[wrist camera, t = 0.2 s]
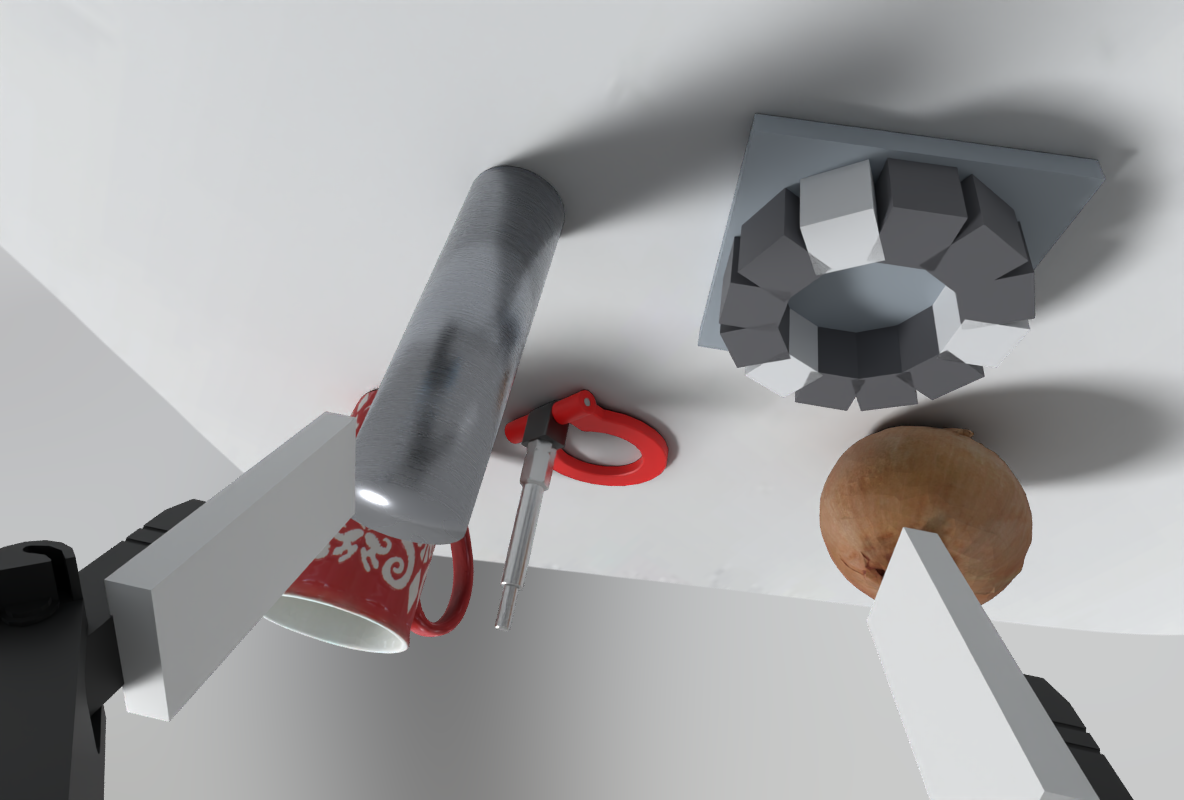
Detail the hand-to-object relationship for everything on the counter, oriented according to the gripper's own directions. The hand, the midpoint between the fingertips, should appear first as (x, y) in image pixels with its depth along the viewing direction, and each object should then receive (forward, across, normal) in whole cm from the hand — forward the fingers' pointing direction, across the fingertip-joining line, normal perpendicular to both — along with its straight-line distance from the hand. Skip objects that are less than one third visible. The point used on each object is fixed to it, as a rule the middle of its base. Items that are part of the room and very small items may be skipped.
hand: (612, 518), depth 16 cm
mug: (+25, -13, -12) cm, 31 cm away
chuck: (+14, +8, +5) cm, 17 cm away
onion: (+21, +15, -5) cm, 26 cm away
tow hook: (+23, -2, -9) cm, 25 cm away
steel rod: (+14, -6, +5) cm, 16 cm away
